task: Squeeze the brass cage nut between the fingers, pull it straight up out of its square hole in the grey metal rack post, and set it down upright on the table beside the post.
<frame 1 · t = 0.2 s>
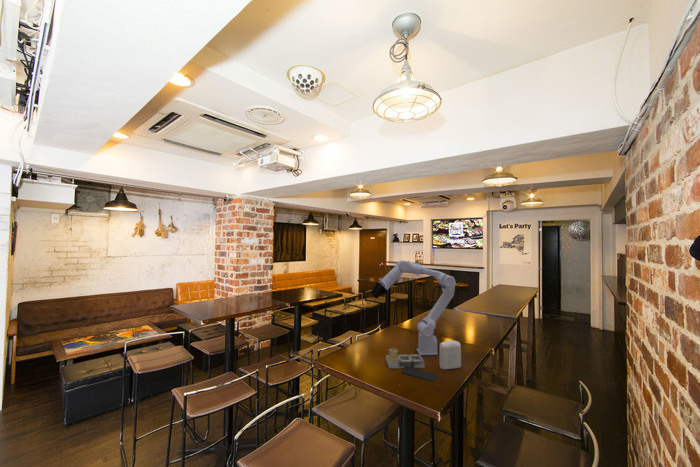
hand: (373, 295, 149), 31 cm above the table, tool tilted 45°, fingers open, 7 cm apart
photo printer: (450, 367, 132), on the table
rack post: (404, 364, 136), on the table
cage nut: (393, 364, 136), resting in rack post
phone: (419, 375, 126), on the table
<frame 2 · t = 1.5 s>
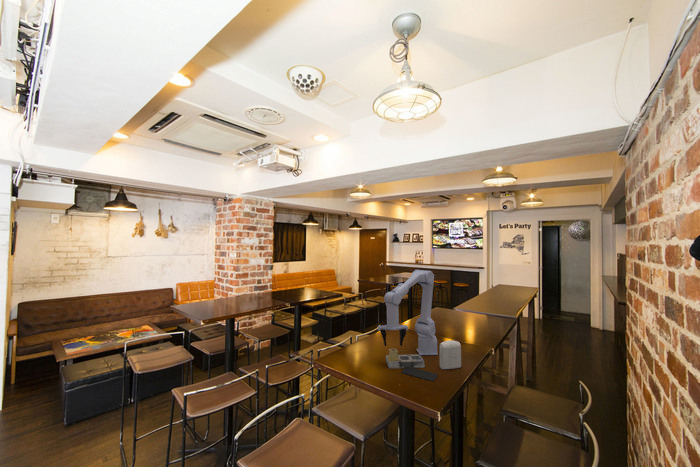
hand: (393, 345, 136), 9 cm above the table, tool pointing down, fingers open, 7 cm apart
nothing on the table moved.
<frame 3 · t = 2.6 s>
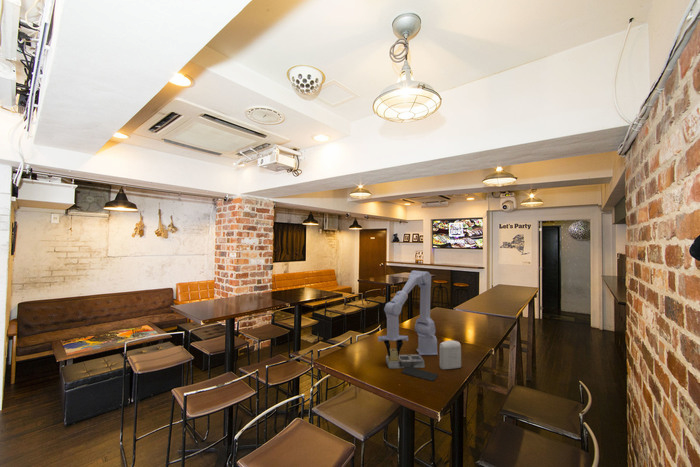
hand: (393, 355, 136), 4 cm above the table, tool pointing down, fingers closed on cage nut, 4 cm apart
cage nut: (393, 364, 136), resting in rack post, touching gripper
everything else where it was.
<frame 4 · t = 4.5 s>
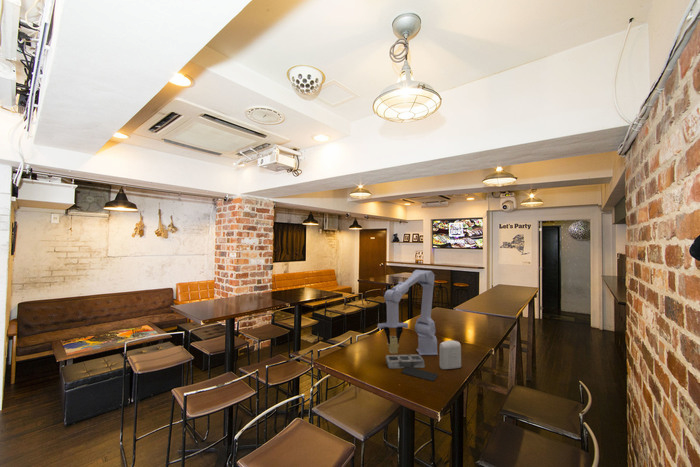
hand: (393, 342, 136), 10 cm above the table, tool pointing down, fingers closed on cage nut, 4 cm apart
cage nut: (393, 351, 136), point 6 cm above the table, touching gripper
everything else where it was.
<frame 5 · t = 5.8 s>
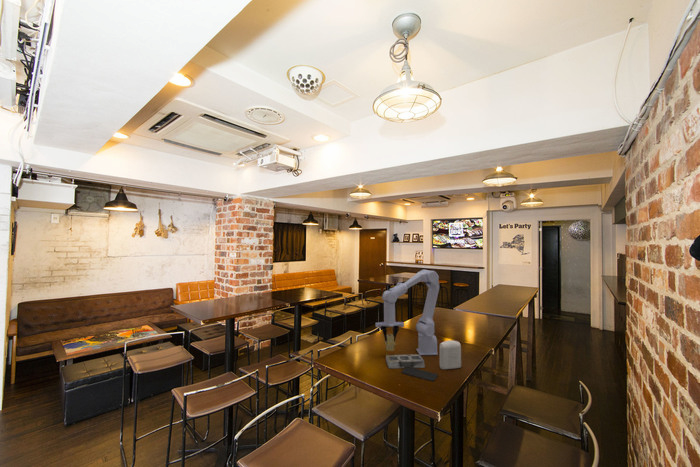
hand: (389, 340, 145), 8 cm above the table, tool pointing down, fingers closed on cage nut, 4 cm apart
cage nut: (390, 349, 144), point 4 cm above the table, touching gripper
everything else where it was.
when the fingers open (5 cm above the table, at t = 6.6 s): cage nut drops 1 cm, on the table.
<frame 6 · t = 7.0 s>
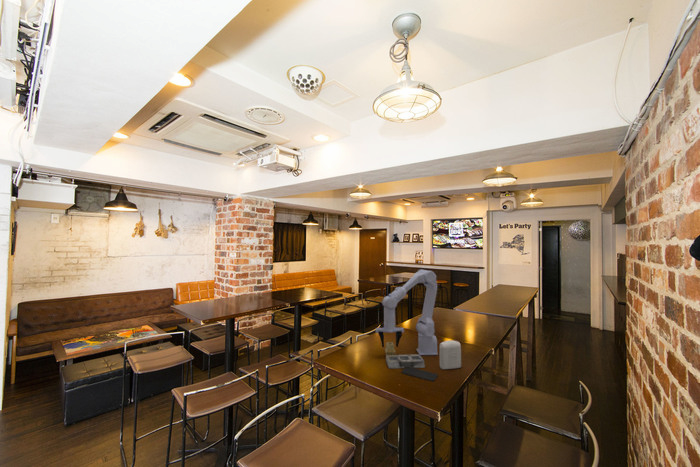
hand: (390, 346, 145), 5 cm above the table, tool pointing down, fingers open, 7 cm apart
cage nut: (390, 357, 144), on the table
everything else where it was.
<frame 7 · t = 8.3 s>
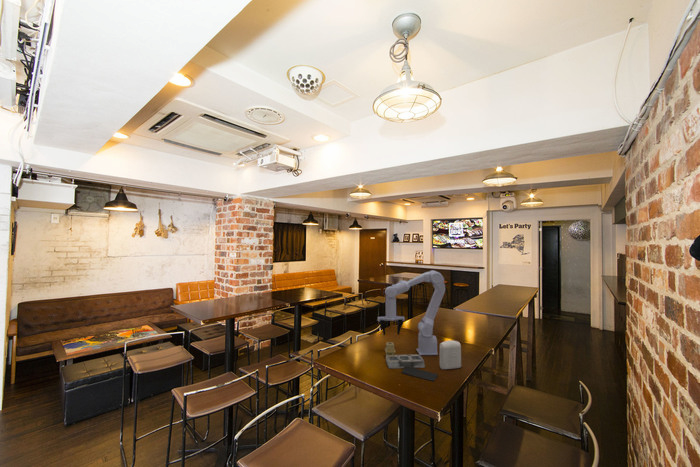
hand: (391, 334, 152), 9 cm above the table, tool pointing down, fingers open, 7 cm apart
nothing on the table moved.
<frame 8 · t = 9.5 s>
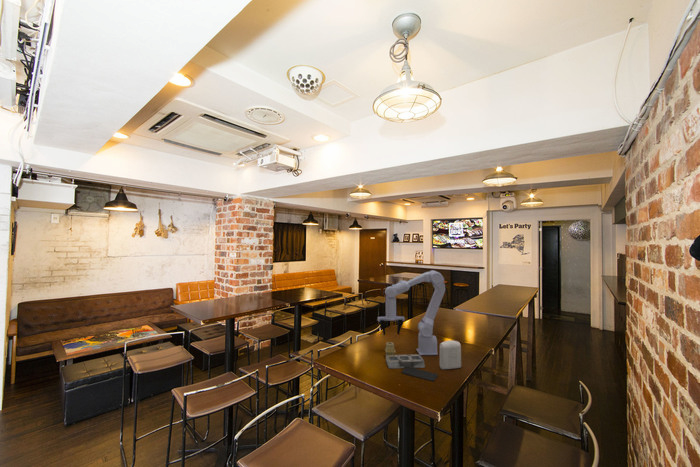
hand: (391, 334, 152), 9 cm above the table, tool pointing down, fingers open, 7 cm apart
nothing on the table moved.
at the end: cage nut inside the target area (0.2 cm from its centre), on the table; cage nut tilted 0°; the gripper is holding nothing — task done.
